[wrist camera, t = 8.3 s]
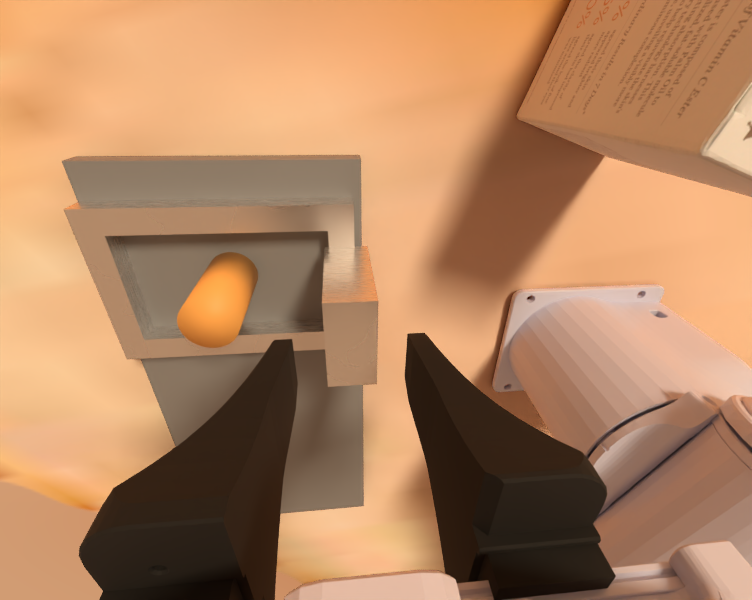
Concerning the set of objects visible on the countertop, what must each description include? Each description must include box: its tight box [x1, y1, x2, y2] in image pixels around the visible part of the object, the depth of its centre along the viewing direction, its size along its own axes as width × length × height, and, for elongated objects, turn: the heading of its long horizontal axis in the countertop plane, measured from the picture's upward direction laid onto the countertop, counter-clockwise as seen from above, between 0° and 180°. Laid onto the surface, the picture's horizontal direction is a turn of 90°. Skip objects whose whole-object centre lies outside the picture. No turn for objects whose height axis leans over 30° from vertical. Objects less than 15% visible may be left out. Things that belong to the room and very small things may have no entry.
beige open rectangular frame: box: [64, 197, 378, 387], centre depth 17 cm, size 13×8×6 cm, turn 89°
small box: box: [516, 0, 752, 197], centre depth 12 cm, size 8×6×10 cm
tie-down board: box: [62, 155, 364, 513], centre depth 24 cm, size 12×27×1 cm, turn 179°
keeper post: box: [177, 252, 258, 348], centre depth 17 cm, size 2×2×4 cm
